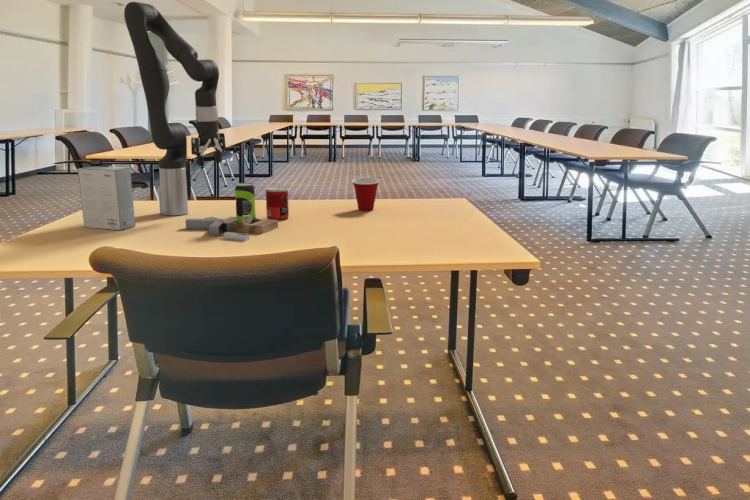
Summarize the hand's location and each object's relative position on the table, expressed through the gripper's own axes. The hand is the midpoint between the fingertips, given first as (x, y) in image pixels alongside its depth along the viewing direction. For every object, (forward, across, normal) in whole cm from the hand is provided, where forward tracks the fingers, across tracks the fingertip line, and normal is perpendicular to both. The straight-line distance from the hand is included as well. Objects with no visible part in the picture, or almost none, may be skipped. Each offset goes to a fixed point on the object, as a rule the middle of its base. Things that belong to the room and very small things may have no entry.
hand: (209, 164), depth 228 cm
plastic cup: (+20, -41, +41) cm, 61 cm away
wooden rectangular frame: (+16, +11, +27) cm, 33 cm away
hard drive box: (+17, +35, -13) cm, 41 cm away
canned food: (+18, -8, +24) cm, 32 cm away
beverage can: (+17, +11, +27) cm, 33 cm away
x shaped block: (+16, +20, +19) cm, 32 cm away
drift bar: (+15, +24, +35) cm, 45 cm away
